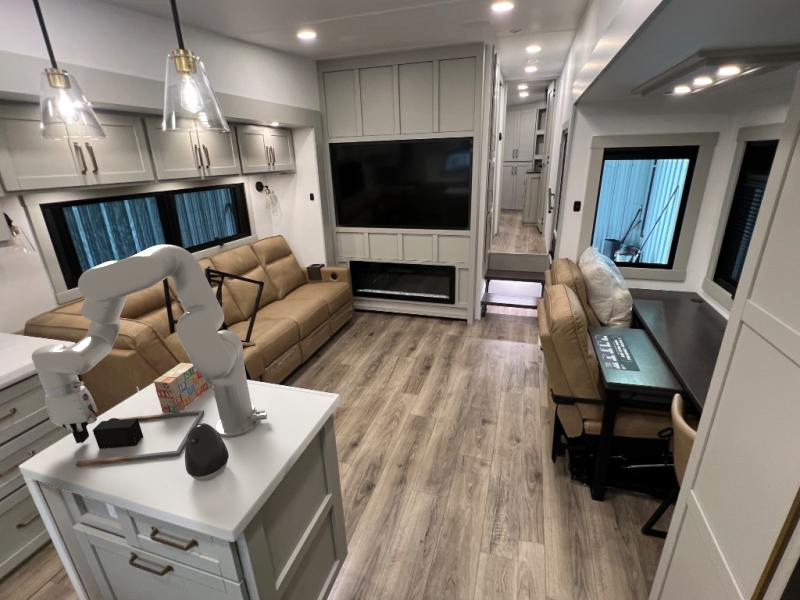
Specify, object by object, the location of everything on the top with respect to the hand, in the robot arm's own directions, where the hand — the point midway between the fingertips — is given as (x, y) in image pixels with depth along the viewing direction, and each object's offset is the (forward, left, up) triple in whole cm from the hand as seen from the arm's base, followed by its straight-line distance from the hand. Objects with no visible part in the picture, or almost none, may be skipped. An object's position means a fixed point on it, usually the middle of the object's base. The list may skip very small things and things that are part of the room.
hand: (83, 439), depth 113 cm
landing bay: (-24, 0, -2) cm, 24 cm away
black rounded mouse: (-42, +18, -2) cm, 46 cm away
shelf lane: (-11, 0, -2) cm, 11 cm away
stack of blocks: (-23, -22, -2) cm, 32 cm away
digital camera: (-11, +1, -2) cm, 11 cm away
